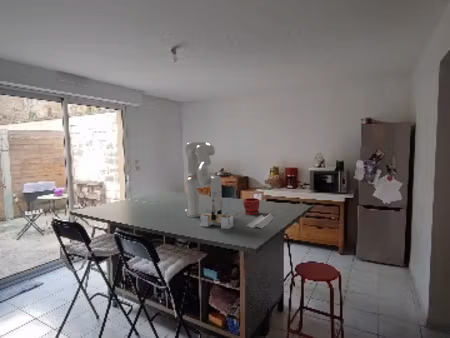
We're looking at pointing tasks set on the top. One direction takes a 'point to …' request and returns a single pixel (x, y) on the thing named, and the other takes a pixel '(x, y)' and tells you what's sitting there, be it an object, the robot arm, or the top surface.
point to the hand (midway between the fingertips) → (216, 218)
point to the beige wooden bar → (218, 217)
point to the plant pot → (251, 206)
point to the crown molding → (260, 221)
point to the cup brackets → (225, 221)
